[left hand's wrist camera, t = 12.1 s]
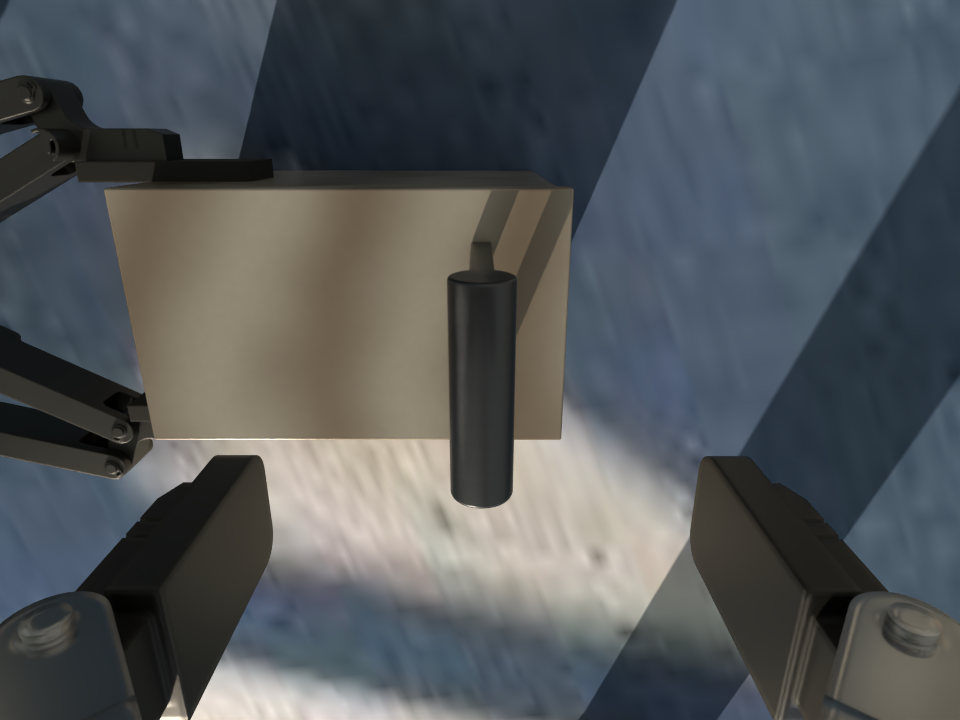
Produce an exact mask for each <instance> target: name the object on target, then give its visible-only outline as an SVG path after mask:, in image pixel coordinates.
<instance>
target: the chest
mask: <svg viewBox="0 0 960 720" xmlns="http://www.w3.org/2000/svg"><path fill="white" fill-rule="evenodd" d="M273 175H274V177H273V178H268V179H263V180H257V181H252V182H146V183H139V184H132V185H124V186H555V185H553V184H552V183H550V182H549V181H547V180H546V179H544V178H542V177H541V176H539V175H538V174H536V173H535V172H533V171H362V170H273Z"/></svg>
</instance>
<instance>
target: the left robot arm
mask: <svg viewBox="0 0 960 720" xmlns="http://www.w3.org/2000/svg"><path fill="white" fill-rule="evenodd" d="M690 542H691V550H692V555H693V559H694V562H695V564H696V567H697V569H698V571H699V573H700V575H701V577H702V579H703V581H704V583H705V585H706V587H707V589H708V591H709V593H710V595H711V597H712V599H713V601H714V603H715V605H716V607H717V609H718V610H719V612H720V614H721V616H722V618H723V620H724V622H725V624H726V626H727V628H728V630H729V632H730V634H731V636H732V638H733V640H734V642H735V644H736V646H737V648H738V650H739V652H740V654H741V656H742V658H743V660H744V662H745V664H746V666H747V668H748V670H749V672H750V674H751V676H752V678H753V680H754V682H755V684H756V686H757V688H758V690H759V692H760V694H761V696H762V698H763V700H764V702H765V704H766V706H767V708H768V710H769V712H770V714H771V716H772V718H773V720H960V624H959V623H958V622H957V621H956V620H954V619H953V618H952V617H950V616H949V615H947V614H946V613H944V612H942V611H941V610H939V609H937V608H935V607H933V606H931V605H929V604H927V603H925V602H923V601H920V600H918V599H915V598H912V597H909V596H906V595H902V594H897V593H892V592H889V591H888V590H887V589H886V588H885V587H884V586H883V585H882V584H881V583H880V581H879V580H878V579H877V578H876V577H875V576H874V575H873V574H872V572H871V571H870V570H869V569H868V568H867V567H866V566H865V565H864V564H863V562H862V561H861V560H860V559H859V558H858V557H857V556H856V555H855V553H854V552H853V551H852V550H851V549H850V548H849V547H848V546H847V545H846V543H845V542H844V541H843V540H839V538H838V534H837V533H836V532H835V531H834V530H833V529H832V528H831V527H830V526H829V524H828V523H824V519H823V518H822V517H821V515H820V514H819V513H818V512H817V511H816V510H815V509H814V508H813V507H812V505H811V504H810V503H809V502H808V501H807V500H806V499H804V498H803V497H801V496H799V495H798V494H796V493H795V492H793V491H791V490H790V489H788V488H787V487H785V486H783V485H782V484H772V483H771V482H770V481H769V480H768V478H767V477H766V476H765V475H764V474H763V472H762V471H761V470H760V469H759V468H758V466H757V465H756V464H755V463H754V462H753V460H752V459H751V458H749V457H747V456H706V457H704V458H703V459H702V461H701V463H700V466H699V472H698V479H697V486H696V493H695V500H694V507H693V514H692V522H691V529H690ZM272 543H273V527H272V519H271V512H270V505H269V497H268V490H267V483H266V476H265V469H264V464H263V461H262V459H261V457H260V456H258V455H217V456H214V457H213V458H212V459H211V460H210V461H209V463H208V464H207V465H206V466H205V467H204V469H203V470H202V471H201V472H200V473H199V475H198V476H197V477H196V478H195V480H194V481H193V482H183V483H182V484H180V485H179V486H177V487H175V488H174V489H172V490H171V491H169V492H167V493H166V494H164V495H163V496H161V497H159V498H158V499H157V500H156V501H155V502H154V503H153V504H152V505H151V507H150V508H149V509H148V510H147V511H146V512H145V513H144V514H143V516H142V517H141V518H140V522H136V523H135V525H134V526H133V527H132V528H131V529H130V530H129V531H128V532H127V534H126V538H122V539H121V540H120V541H119V543H118V544H117V545H116V546H115V547H114V548H113V549H112V551H111V552H110V553H109V554H108V555H107V556H106V557H105V558H104V560H103V561H102V562H101V563H100V564H99V565H98V566H97V567H96V569H95V570H94V571H93V572H92V573H91V574H90V575H89V576H88V578H87V579H86V580H85V581H84V582H83V583H82V584H81V585H80V587H79V588H78V589H77V590H76V591H75V592H68V593H63V594H58V595H54V596H51V597H48V598H45V599H42V600H40V601H37V602H35V603H33V604H31V605H29V606H27V607H25V608H23V609H21V610H19V611H18V612H16V613H14V614H13V615H11V616H10V617H8V618H7V619H6V620H4V621H3V622H2V623H1V624H0V720H190V719H191V717H192V715H193V713H194V711H195V709H196V707H197V705H198V703H199V701H200V699H201V697H202V695H203V693H204V691H205V689H206V687H207V685H208V683H209V681H210V679H211V677H212V675H213V673H214V671H215V669H216V667H217V665H218V663H219V661H220V659H221V657H222V655H223V653H224V651H225V649H226V647H227V645H228V643H229V641H230V639H231V637H232V635H233V632H234V630H235V628H236V626H237V624H238V622H239V620H240V618H241V616H242V614H243V612H244V610H245V608H246V606H247V604H248V602H249V600H250V598H251V596H252V594H253V592H254V590H255V588H256V586H257V584H258V582H259V580H260V578H261V576H262V574H263V572H264V570H265V568H266V566H267V564H268V561H269V558H270V555H271V550H272Z"/></svg>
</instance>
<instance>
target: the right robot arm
mask: <svg viewBox="0 0 960 720" xmlns="http://www.w3.org/2000/svg"><path fill="white" fill-rule="evenodd" d="M82 106H83V96H82V93H81V91H80V90H79V88H78V87H77V86H76V85H74V84H73V83H71V82H68V81H62V80H55V79H47V78H40V77H33V76H25V75H22V76H15V77H12V78H9V79H5V80H2V81H0V134H3V133H7V132H10V131H14V130H17V129H21V128H24V127H28V126H31V125H35V124H36V126H37V128H36V129H33V130H31V131H32V133H40V134H38V135H37V136H35V137H34V138H32V139H30V140H29V141H27V142H26V143H24V144H23V145H21V146H20V147H18V148H16V149H15V150H13V151H12V152H10V153H9V154H7V155H6V156H4V157H2V158H1V159H0V222H2V221H3V220H5V219H7V218H8V217H10V216H12V215H13V214H15V213H16V212H18V211H20V210H21V209H23V208H24V207H26V206H28V205H29V204H31V203H32V202H34V201H36V200H37V199H39V198H41V197H42V196H44V195H45V194H47V193H49V192H50V191H52V190H53V189H55V188H57V187H58V186H60V185H62V184H63V183H65V182H66V181H68V180H70V179H71V178H73V177H74V176H76V175H78V180H79V182H252V181H257V180H263V179H268V178H273V177H274V175H273V166H272V159H183V153H182V147H181V141H180V134H177V133H175V132H172V131H170V130H167V129H103V128H101V127H98V126H96V125H95V124H93V123H92V122H91V121H90V120H89V118H88V117H87V115H86V114H85V112H84V110H83V108H82ZM0 393H1V394H3V395H5V396H8V397H10V398H12V399H15V400H17V401H19V402H22V403H24V404H27V405H29V406H31V407H34V408H36V409H33V408H28V407H24V406H19V405H14V404H10V403H5V402H0V456H4V457H9V458H13V459H18V460H23V461H28V462H33V463H38V464H42V465H47V466H52V467H57V468H62V469H66V470H71V471H76V472H81V473H86V474H91V475H95V476H100V477H105V478H110V479H119V478H122V477H123V476H124V475H125V474H126V473H127V472H128V471H130V470H131V469H132V468H133V467H134V466H135V465H136V464H137V463H138V462H139V461H140V460H141V459H142V458H143V457H144V456H145V455H146V454H147V453H148V452H149V451H150V450H151V449H152V447H153V441H152V439H154V434H153V429H152V424H151V419H150V414H149V409H148V404H147V399H146V394H145V392H144V393H143V394H140V393H138V392H136V391H133V390H131V389H129V388H127V387H124V386H122V385H120V384H117V383H115V382H113V381H111V380H108V379H106V378H104V377H102V376H99V375H97V374H95V373H92V372H90V371H88V370H86V369H83V368H81V367H79V366H76V365H74V364H72V363H70V362H67V361H65V360H63V359H61V358H58V357H56V356H54V355H51V354H49V353H47V352H45V351H42V350H40V349H38V348H36V347H33V346H31V345H29V344H26V343H24V342H22V341H21V336H20V335H19V334H18V333H16V332H15V331H12V330H10V329H8V328H5V327H3V326H1V325H0Z"/></svg>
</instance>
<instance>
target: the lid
mask: <svg viewBox="0 0 960 720" xmlns="http://www.w3.org/2000/svg"><path fill="white" fill-rule="evenodd" d="M104 192H105V197H106V202H107V207H108V212H109V217H110V222H111V227H112V232H113V237H114V242H115V246H116V251H117V256H118V261H119V266H120V271H121V276H122V281H123V286H124V291H125V296H126V301H127V306H128V311H129V316H130V320H131V325H132V330H133V335H134V340H135V345H136V350H137V355H138V360H139V365H140V370H141V375H142V380H143V385H144V390H145V394H146V399H147V404H148V409H149V414H150V419H151V424H152V429H153V434H154V439H155V440H450V478H451V494H452V496H453V498H454V499H455V500H456V501H457V502H459V503H460V504H462V505H465V506H468V507H472V508H491V507H496V506H499V505H501V504H503V503H505V502H506V501H507V500H508V499H509V498H510V497H511V495H512V492H513V452H514V440H560V439H561V430H562V410H563V391H564V371H565V352H566V332H567V313H568V293H569V274H570V254H571V235H572V215H573V196H574V190H573V189H572V188H571V187H569V186H117V187H110V188H105V189H104Z"/></svg>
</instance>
